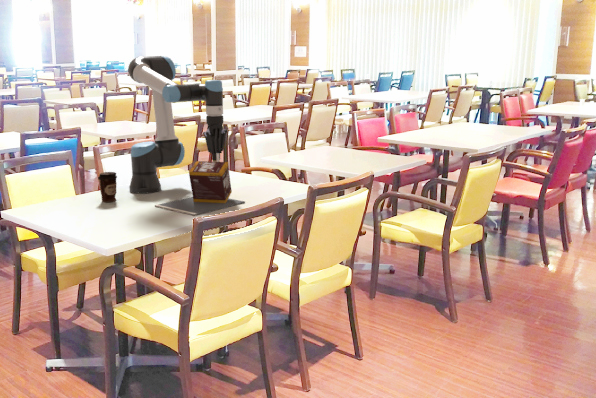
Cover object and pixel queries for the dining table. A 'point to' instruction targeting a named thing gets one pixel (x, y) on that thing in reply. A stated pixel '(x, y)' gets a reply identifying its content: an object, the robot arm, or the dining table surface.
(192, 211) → the mat
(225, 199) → the supplement box
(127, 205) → the dining table surface
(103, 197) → the coffee cup
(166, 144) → the robot arm
